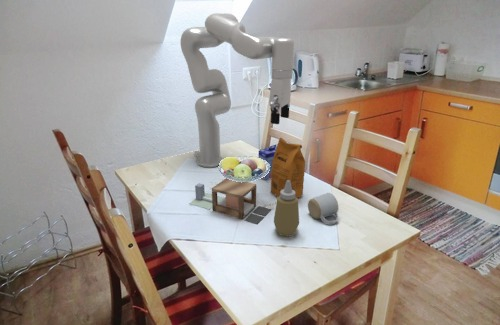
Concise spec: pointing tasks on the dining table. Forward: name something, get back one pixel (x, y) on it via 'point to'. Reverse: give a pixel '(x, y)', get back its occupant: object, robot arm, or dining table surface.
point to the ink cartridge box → (268, 158)
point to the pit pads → (257, 218)
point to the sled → (201, 195)
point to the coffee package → (287, 168)
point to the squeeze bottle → (286, 211)
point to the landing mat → (205, 202)
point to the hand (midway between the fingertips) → (280, 120)
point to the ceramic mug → (324, 207)
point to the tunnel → (237, 191)
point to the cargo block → (232, 201)
